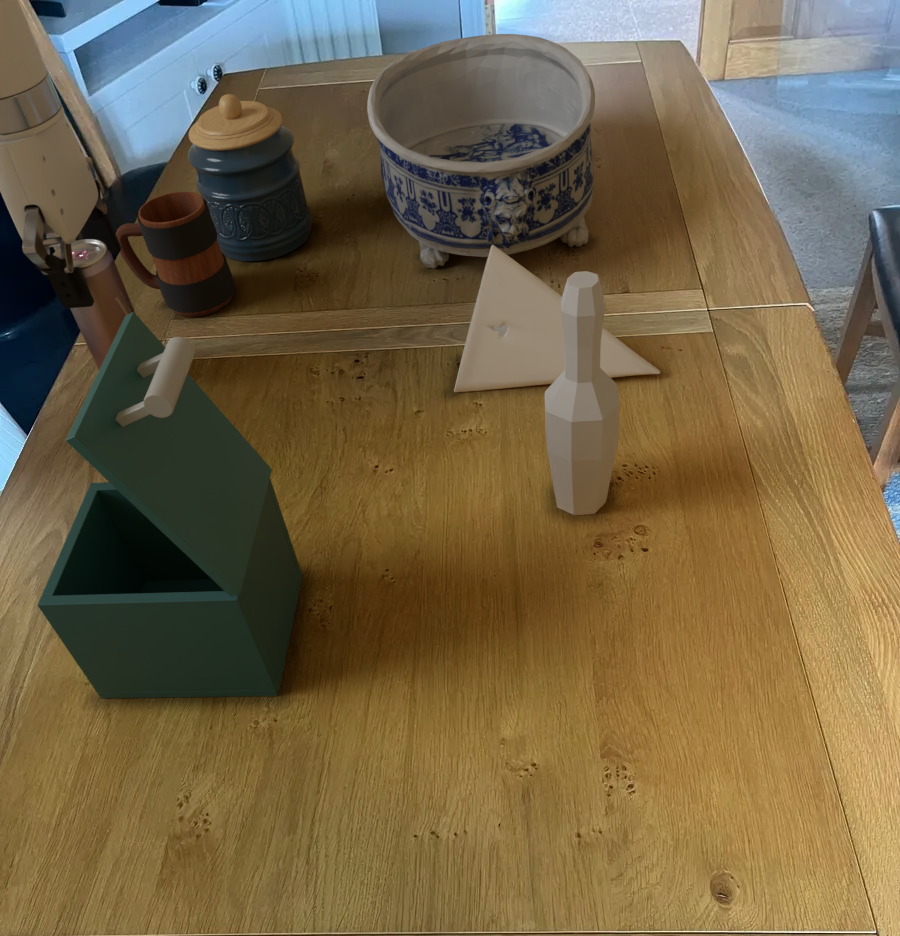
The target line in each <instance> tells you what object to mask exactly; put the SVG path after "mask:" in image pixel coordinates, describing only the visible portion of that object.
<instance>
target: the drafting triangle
mask: <svg viewBox="0 0 900 936" xmlns="http://www.w3.org/2000/svg"><path fill="white" fill-rule="evenodd" d="M482 273H483V274H482V277H481V281H480V285H479V289H478V293H477V296H476V300H475V304H474V309H473V312H472V316H471V320H470V324H469V328H468V331H467V335H466V339H465V342H464V347H463V351H462V355H461V359H460V363H459V367H458V372H457V374H456V375H457V376H456V380H455V385H454V388H453V392H454V393H464V392H465V393H466V392H478V391H489V390H499V389H501V390H502V389H510V388H521V387H523V388H524V387H532V386H533V387H534V386H542V385H552V383H553V382H554V381H555V380H556V379H557V378H558V377H559V376H560V374H561V373H562V372H563V371H564V370H565V360H564V329H563V320H562V311H561V298H562V294H560V293H558V292H557V291H556V290H554V289H553V288H552V287H550V286H549V285H548V284H547V283H545V282H544V281H543V280H542V279H540V278H539V277H538V276H536V275H535V274H533V273H532V272H531V271H530V270H528V269H527V268H525V267H524V266H523V265H522V264H520V263H518V262H517V261H516V260H515V259H513V258H512V257H510V256H509V254H508V255H506V254H505V253H504V252H502V251H501V250H500V249H498V248H497V247H496V246H494V245H492V246H491V249H490V252H489V255H488V257H486V262H485V265H484V270H483V272H482ZM600 368H601V369H602V370H603V371H604V372H605V373H606V374H607V375H608V376H609V377H610V378H611V379H613V378H622V377H630V376H632V377H633V376H644V375H660V374H661V370H660V369H659V368H657V367H656V366H654V365H653V364H652V363H650V362H649V361H647V360H646V359H645V358H643V357H642V356H641V355H639V354H638V353H636V352H635V351H634V350H633V349H632V348H630V347H629V346H628V345H626V344H625V343H624V342H622V341H621V340H620V339H618V338H617V337H616V336H615V335H613V334H612V333H611V332H610V331H608V330H607V329H606V328H604V327H603V328H602V335H601V351H600Z"/></svg>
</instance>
